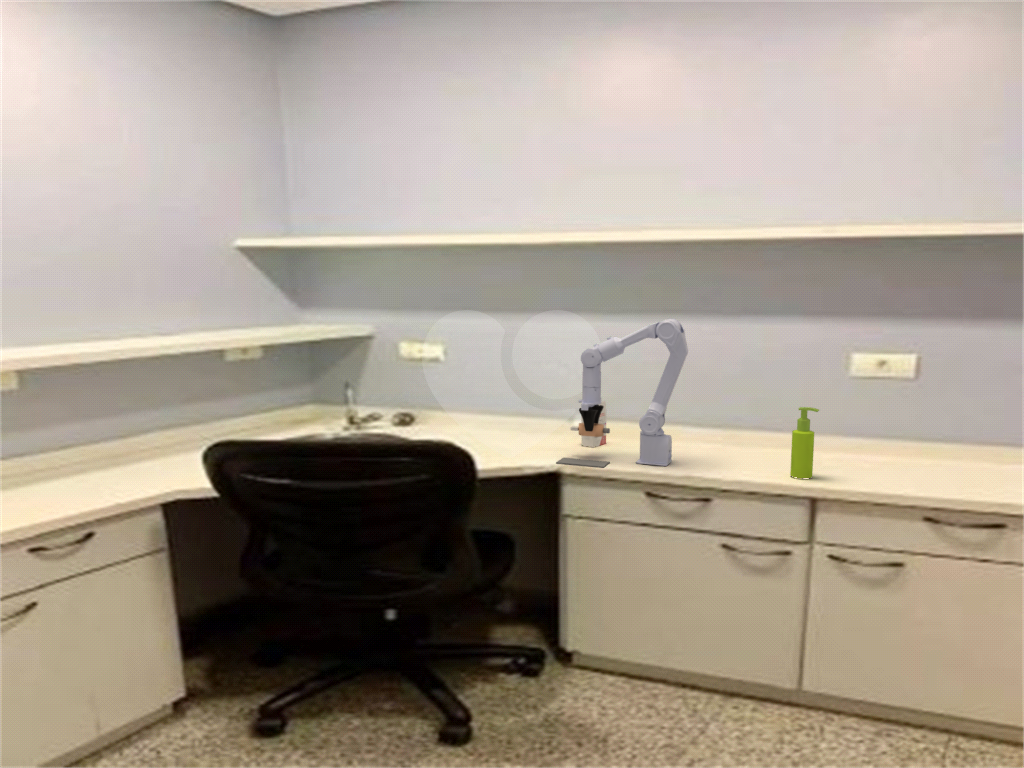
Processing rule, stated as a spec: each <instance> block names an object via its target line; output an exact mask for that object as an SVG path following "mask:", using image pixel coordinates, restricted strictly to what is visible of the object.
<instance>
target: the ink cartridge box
mask: <svg viewBox="0 0 1024 768" xmlns="http://www.w3.org/2000/svg"><path fill="white" fill-rule="evenodd" d="M598 405H602V406H604V408H603V410H602V412H601V414H600V417H599V422H598V424H604V428H607V404H606V400H603V401H601V404H598ZM580 420H581V421H580V423H584V422H583V418H582V416H581V419H580ZM606 443H607V433H604V436H601V437H594V436H581V446H582V445H584V446H583V447H586V446H590V447H589V448H596V447H599V446H603V445H605V444H606ZM595 446H596V447H595Z"/></svg>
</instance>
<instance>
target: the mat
mask: <svg viewBox="0 0 1024 768" xmlns="http://www.w3.org/2000/svg"><path fill="white" fill-rule="evenodd" d="M555 464H557V465H558V464H559V465H567V466H568V465H569V466H579V467H589V468H599V469H601V468H602V469H605V467H607V466H608V465H609V464H611V461H610V460H609V461H606V460H597V459H588V458H586V459H584V458H572V457H561V458H560V459H559V460H557V461H556V462H555Z"/></svg>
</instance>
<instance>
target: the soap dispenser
mask: <svg viewBox="0 0 1024 768" xmlns="http://www.w3.org/2000/svg"><path fill="white" fill-rule="evenodd" d="M798 411H800V417H798V418H797V420H796V421H797V422H796V423H797V425H796V426H797V427H796V429H794V430H792V431H791V456H790V474H789V475H791V476H793V477H797V478H811V477H812V478H813V472H814V471H813V470H814V468H813V467H814V446H815V432H814V431H813V430H811V419H810V418H808V411H810V412H815V413H818V412H820V409H818V408H815V407H808V406H800V407H798ZM791 476H790V477H791Z"/></svg>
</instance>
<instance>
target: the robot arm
mask: <svg viewBox="0 0 1024 768" xmlns="http://www.w3.org/2000/svg"><path fill="white" fill-rule="evenodd" d="M685 331H686V330H685V328H684V327H683V325H682V323H681V322H680V320H678V319H676V318H673V317H669V318H667V319H664V320H661V321H657V322H654V323H651V324H647V325H645V326H643V327H641V328H639V329H637V330H635V331H633V332H631V333H629V334H627V335H625V336H623V337H621V338H620V337H617V336H613V337H612V336H609V337H607V338H606V339H605V340H604V341H602V342H599V343H594V344H593V346H592V347H590V348H589V347H588V348H586V349H585V350H584V351H583V352H582V353H581V354H580V361H581V362H580V363H581V364H582V380H581V381H582V388H581V389H582V392H581V393H582V394H581V395H582V397H581V398H582V399H578V403H581V405H580V406H581V407H580V408H579V409H578V411H579V414H580V415H581V416H582V418H583V422H584V427H585V430H586V431H593V427H594V423H598V422H599V417H600V414H601V412H602V410H603V408H604V406H602V405H598V404H601V402H602V397H601V395H602V394H601V393H602V371H601V369H602V368H601V367H602V363H603V362H604V363H605V362H607V361H610V360H611V359H614V358H616V357H618V356H621V355H623V354H624V351H625V349H626V348H627V347H629V346H631V345H634V344H636V343H639V342H640V341H643V340H646V339H653V340H655V339H659V340H660V341H661V342H662V343H664V345H665V346H666V347H667V350H668V352H669V357H668V359H667V361H666V364H665V367H664V369H663V371H662V375H661V377H660V380H659V382H658V385H657V387H656V390H655V392H654V394H653V398H652V400H651V402H650V404H649V406H648V408H647V411H646V413H645V414H644V415H643V416H642V417H640V420H639V424H638V426H639V429H640V431H639V459H637V460H636V461H635V464H641V465H652V466H662V467H663V466H664V467H667V466H668V465H669V464H670V463H671V462H672V456H673V455H672V451H673V450H672V449H673V447H672V446H673V440H672V439H673V438H672V436H671V435H669V434H665V431H664V429H663V427H664V425H665V423H666V415H665V414H666V411H667V409H668V404H669V401H670V400H671V396H672V394H673V392H674V389H675V387H676V383H677V381H678V379H679V377H680V374H681V371H682V369H683V366H684V363H685V361H686V359H687V356H688V353H689V348H688V343H687V338H686V332H685Z"/></svg>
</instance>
